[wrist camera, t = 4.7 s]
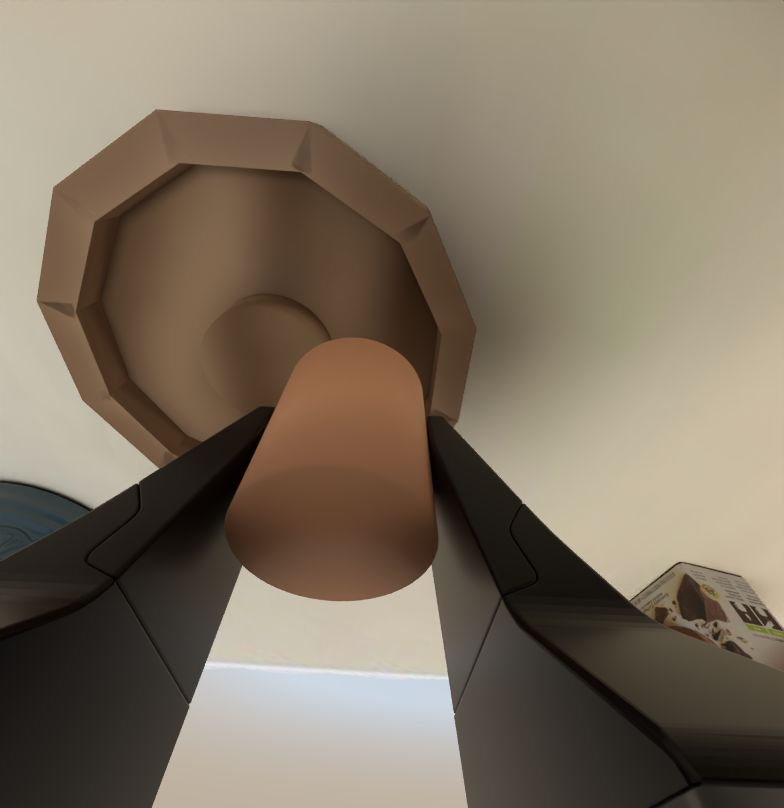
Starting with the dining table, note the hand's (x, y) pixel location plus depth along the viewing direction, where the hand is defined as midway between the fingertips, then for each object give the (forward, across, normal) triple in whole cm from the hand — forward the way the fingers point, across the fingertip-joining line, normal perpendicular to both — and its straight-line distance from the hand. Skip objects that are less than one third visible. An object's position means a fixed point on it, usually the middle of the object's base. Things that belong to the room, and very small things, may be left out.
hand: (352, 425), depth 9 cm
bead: (+1, 0, 0) cm, 1 cm away
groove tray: (+10, +4, +3) cm, 11 cm away
